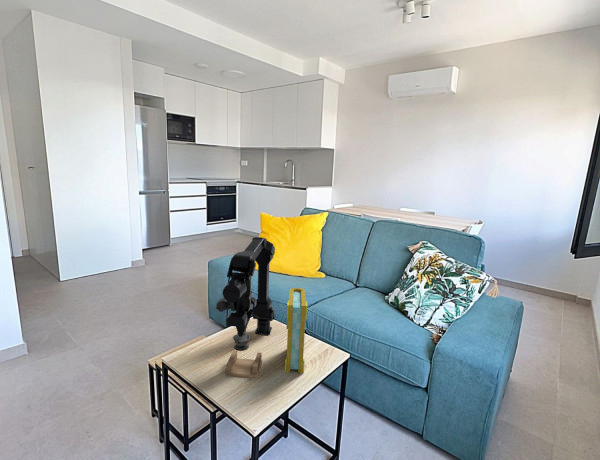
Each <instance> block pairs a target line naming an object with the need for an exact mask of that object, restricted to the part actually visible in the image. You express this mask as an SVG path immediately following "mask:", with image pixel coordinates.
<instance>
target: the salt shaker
mask: <svg viewBox="0 0 600 460" xmlns="http://www.w3.org/2000/svg"><path fill="white" fill-rule="evenodd" d="M247 328H248V325H247V326H246V328H245V330H244V333H243V335H242V337H239V335H238V332H237V333H236V334H235V335H234V336H233V337H232V340H233V342H234V346H233V350H234V351H237V352H238V351H239V352H243V351H247V350H249V348H250V345H249V344H248V343H249V342H250V339H251V336H250V334H247Z"/></svg>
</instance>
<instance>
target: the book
mask: <svg viewBox="0 0 600 460" xmlns="http://www.w3.org/2000/svg"><path fill="white" fill-rule="evenodd" d="M286 305H287V306H286V307H287V308H286V309H287V310H286V330H287V340H286V341H287V342H286V343H287V344H286V358H284V359H285V360H284V373H288V374H289V373H291V370H298V371H297V372H298V374H304V373H305V358H304V351H305V350H304V348H305V333H306V332H305V327H306V320H307V318H308V301H307V300H306V290H305V289H304V288H302V287H292V288H290V289H289V297H288V300H287V304H286Z"/></svg>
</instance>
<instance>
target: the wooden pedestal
mask: <svg viewBox="0 0 600 460" xmlns="http://www.w3.org/2000/svg"><path fill="white" fill-rule="evenodd" d="M262 356H263V355H262V352H259V351H257V353H256V355H255V359H249V358H238V351H237V350H232V352H231V355H230V356H229V358H228V360H227V362H226V365H225V367H226V368H225V369H226V370H225V372H224V373H225V376H227V377H228V376H229V377H239V378H240V377H241V378H252V379H253V378H254V379H258V378H259V374H260V372H261V371H260V370H261V367H262V364H263V360H262Z"/></svg>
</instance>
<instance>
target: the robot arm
mask: <svg viewBox="0 0 600 460" xmlns="http://www.w3.org/2000/svg"><path fill="white" fill-rule="evenodd" d="M275 253H276V247H275V246H274V243H272V242H270V241H269V240H268V239H267V238H265V237H258V236H255V237H253V238H251V242H249V244H248V245H247V247H246V248H245V249H244V250H242V251H238V252H236V253H235V254H234V255H233V256H232V257H231V259H230V262H229V265H228V269H227V274H226V277H227V278H230V279H229V281H228V284H226V285H225V286H224V288H223V289H222V296H223V298H220V299H219V300H218V301H217V302H216V307H215V309H216V310H217V311H218V312H219V313H222V312H223V311H224V312H225V311H227V310H230V312H231V311H232V312H231V313H229V314H228V315H227V317H226V319H225V326H226V327H235V328H236V331H237V332H238V335H239V337H242V335H243V333H244V330H245V328H246V326H247V327H248V324H249V322H250V320H251V317H252V319H253V320H256V329H255V331H254V334H255V335H263V336H265V335H267V336H270V335H271V332H272V329H273V327H272V326H271V322H273V321H274V320H275V319H276V314H275V313H276V311H275V309H274V307H273V301H272V300H271V298H270V296H269V295H270V293H269V290H270V289H269V288H270V287H269V286H270V264H271V262H272V260H273V259H274V256H275ZM256 266H257V298H255V296H253V291H252V277H254V274H255V271H256ZM234 311H235V312H234ZM246 329H247V328H246Z"/></svg>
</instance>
